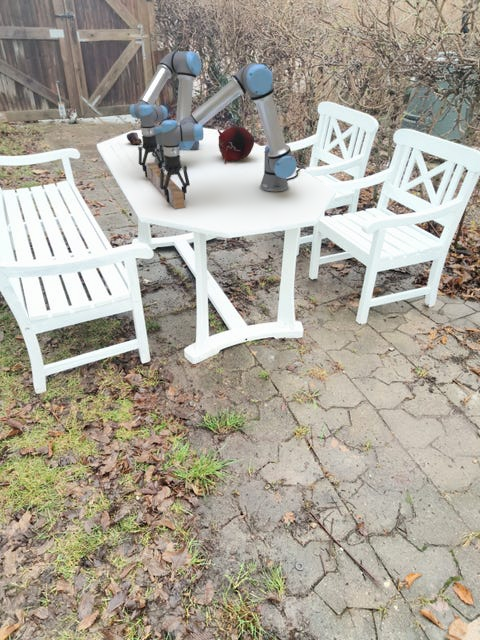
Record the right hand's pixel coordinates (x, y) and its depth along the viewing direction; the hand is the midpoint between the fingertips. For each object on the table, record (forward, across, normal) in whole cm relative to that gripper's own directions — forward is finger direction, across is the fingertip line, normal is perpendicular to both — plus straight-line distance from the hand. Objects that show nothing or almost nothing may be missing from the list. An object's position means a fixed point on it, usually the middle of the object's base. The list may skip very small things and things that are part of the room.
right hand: (176, 200), depth 231 cm
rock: (+2, +8, +137) cm, 137 cm away
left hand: (0, 0, +47) cm, 47 cm away
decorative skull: (+2, +62, +67) cm, 91 cm away
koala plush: (+2, +41, +110) cm, 118 cm away
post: (+2, 0, +24) cm, 24 cm away
